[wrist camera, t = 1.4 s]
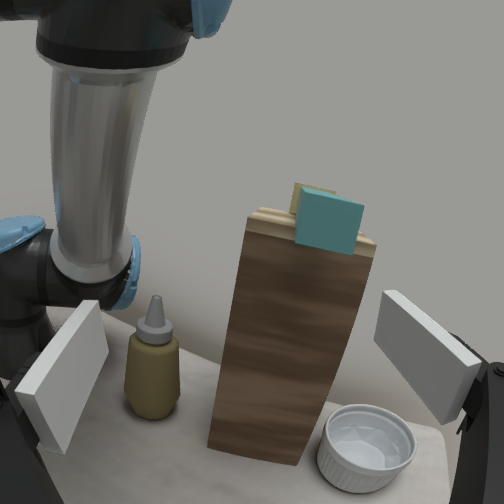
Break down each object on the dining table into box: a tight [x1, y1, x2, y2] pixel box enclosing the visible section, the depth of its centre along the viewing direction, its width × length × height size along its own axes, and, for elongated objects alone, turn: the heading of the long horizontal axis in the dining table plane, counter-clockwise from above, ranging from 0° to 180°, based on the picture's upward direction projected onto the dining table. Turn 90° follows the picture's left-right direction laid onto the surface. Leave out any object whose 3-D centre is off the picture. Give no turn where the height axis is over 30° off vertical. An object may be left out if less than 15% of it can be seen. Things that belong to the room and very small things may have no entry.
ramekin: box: [317, 404, 417, 493], centre depth 34 cm, size 13×13×7 cm
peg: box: [289, 183, 364, 255], centre depth 29 cm, size 23×5×4 cm, turn 172°
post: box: [207, 207, 376, 466], centre depth 38 cm, size 12×12×30 cm
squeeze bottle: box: [124, 295, 180, 420], centre depth 39 cm, size 8×8×18 cm
